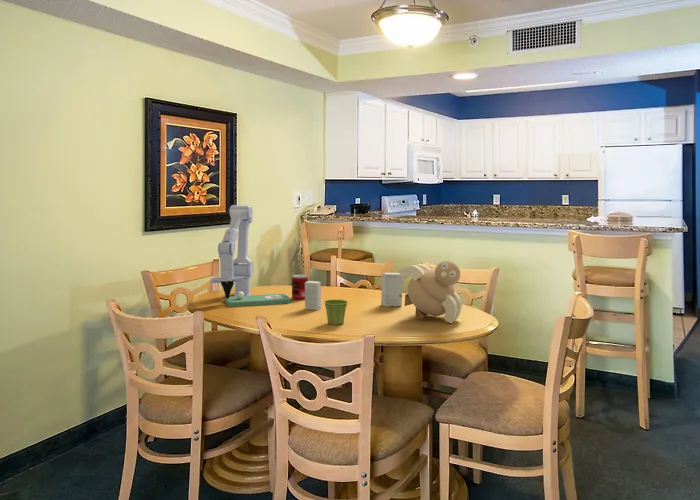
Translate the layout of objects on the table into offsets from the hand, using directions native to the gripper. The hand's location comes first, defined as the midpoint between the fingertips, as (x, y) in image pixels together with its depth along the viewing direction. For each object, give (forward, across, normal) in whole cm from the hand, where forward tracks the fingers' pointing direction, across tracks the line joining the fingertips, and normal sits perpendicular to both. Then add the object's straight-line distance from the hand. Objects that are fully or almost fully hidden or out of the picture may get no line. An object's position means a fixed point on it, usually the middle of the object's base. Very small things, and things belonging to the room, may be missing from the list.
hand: (227, 298), depth 250 cm
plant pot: (+3, +35, -50) cm, 61 cm away
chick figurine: (+3, +75, -54) cm, 92 cm away
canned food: (+3, +35, +3) cm, 35 cm away
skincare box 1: (+3, +34, -22) cm, 40 cm away
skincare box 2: (+3, +70, -26) cm, 75 cm away
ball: (-1, +6, 0) cm, 6 cm away
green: (+3, +14, 0) cm, 14 cm away
